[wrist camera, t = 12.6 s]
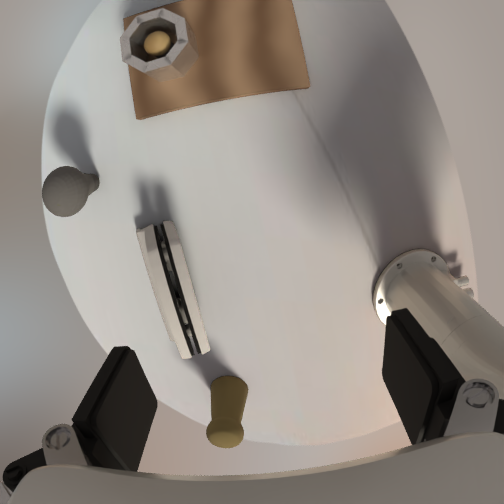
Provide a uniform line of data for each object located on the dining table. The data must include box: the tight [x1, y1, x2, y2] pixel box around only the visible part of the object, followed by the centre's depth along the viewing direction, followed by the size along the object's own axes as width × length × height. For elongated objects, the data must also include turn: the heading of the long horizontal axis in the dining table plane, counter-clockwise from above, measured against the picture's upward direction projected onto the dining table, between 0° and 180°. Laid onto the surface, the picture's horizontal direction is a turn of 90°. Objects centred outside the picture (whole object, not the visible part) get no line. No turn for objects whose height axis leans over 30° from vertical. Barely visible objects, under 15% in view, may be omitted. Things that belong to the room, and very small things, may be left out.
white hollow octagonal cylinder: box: [120, 8, 199, 82], centre depth 27 cm, size 7×7×6 cm
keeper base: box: [123, 0, 310, 120], centre depth 27 cm, size 20×14×7 cm
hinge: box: [136, 221, 210, 359], centre depth 37 cm, size 17×5×10 cm, turn 10°
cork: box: [206, 376, 248, 448], centre depth 42 cm, size 6×6×11 cm
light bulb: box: [42, 166, 99, 217], centre depth 32 cm, size 6×6×10 cm
